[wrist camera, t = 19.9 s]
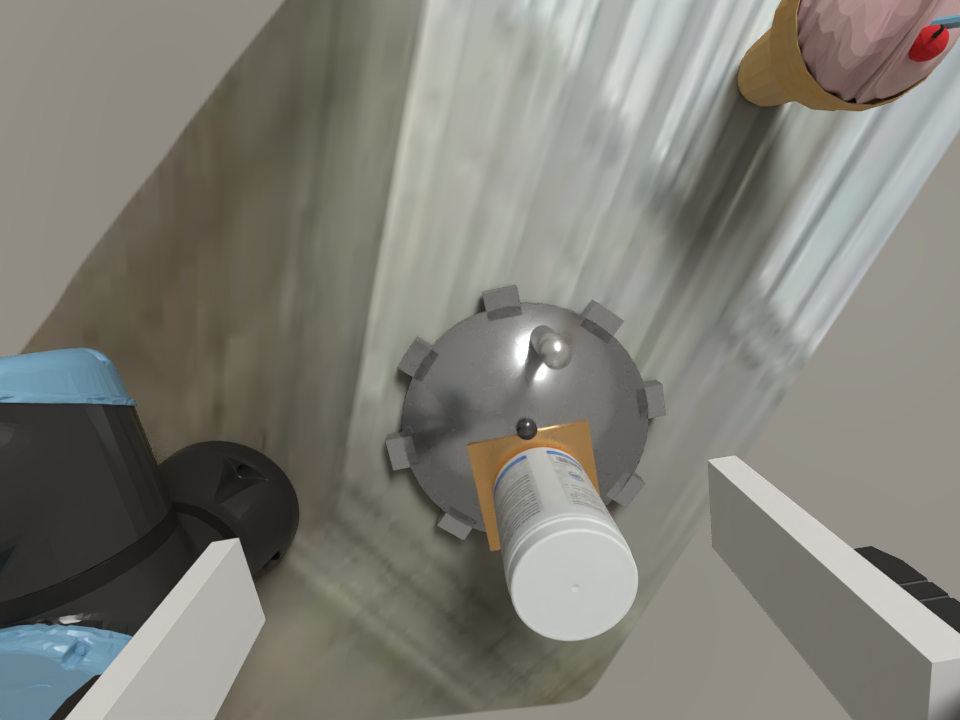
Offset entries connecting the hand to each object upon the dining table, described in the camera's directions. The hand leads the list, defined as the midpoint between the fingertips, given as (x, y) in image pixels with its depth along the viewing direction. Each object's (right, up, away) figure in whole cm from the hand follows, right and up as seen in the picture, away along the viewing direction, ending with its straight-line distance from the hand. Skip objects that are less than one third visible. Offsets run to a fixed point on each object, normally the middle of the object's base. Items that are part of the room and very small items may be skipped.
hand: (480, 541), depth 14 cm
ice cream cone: (+25, +30, +29) cm, 48 cm away
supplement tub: (+6, -8, +35) cm, 37 cm away
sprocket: (+4, -1, +36) cm, 36 cm away
